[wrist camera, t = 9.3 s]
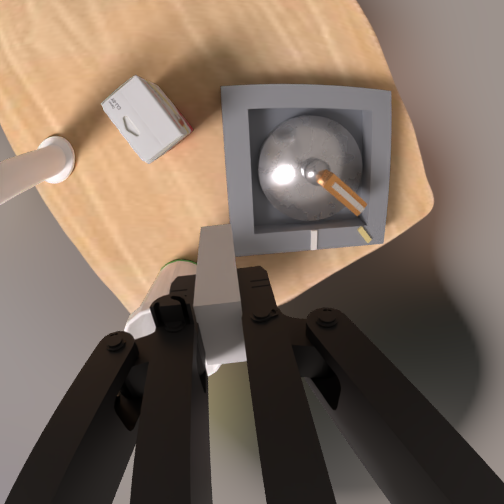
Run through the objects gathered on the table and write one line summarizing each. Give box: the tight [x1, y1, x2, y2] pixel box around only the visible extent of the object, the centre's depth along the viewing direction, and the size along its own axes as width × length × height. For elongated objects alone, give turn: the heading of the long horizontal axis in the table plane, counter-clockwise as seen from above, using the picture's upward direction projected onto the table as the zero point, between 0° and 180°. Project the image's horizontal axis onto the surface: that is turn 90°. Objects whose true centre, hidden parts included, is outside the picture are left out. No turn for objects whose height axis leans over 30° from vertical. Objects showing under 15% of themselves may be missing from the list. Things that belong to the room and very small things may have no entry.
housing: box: [221, 84, 391, 257], centre depth 40 cm, size 22×22×5 cm
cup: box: [124, 259, 221, 376], centre depth 41 cm, size 12×12×15 cm
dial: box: [257, 115, 367, 221], centre depth 37 cm, size 14×14×7 cm
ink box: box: [101, 75, 193, 164], centre depth 32 cm, size 9×5×12 cm, turn 35°
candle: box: [0, 136, 75, 205], centre depth 26 cm, size 7×7×25 cm
